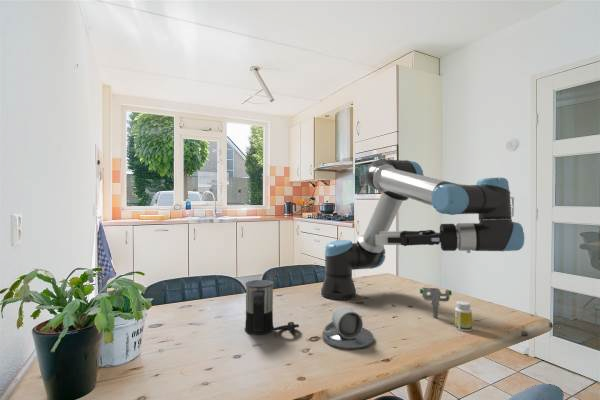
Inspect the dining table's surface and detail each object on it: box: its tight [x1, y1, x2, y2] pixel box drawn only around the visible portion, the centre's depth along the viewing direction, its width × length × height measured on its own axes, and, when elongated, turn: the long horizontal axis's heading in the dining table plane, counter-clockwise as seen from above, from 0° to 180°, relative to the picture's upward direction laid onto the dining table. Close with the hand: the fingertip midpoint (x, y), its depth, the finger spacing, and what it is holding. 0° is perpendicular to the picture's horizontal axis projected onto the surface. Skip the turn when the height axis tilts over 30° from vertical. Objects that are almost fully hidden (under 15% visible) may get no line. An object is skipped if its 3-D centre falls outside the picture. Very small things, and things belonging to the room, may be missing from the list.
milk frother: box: [244, 279, 300, 335], centre depth 101 cm, size 14×16×15 cm
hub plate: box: [321, 327, 374, 351], centre depth 95 cm, size 15×15×1 cm
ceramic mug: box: [323, 306, 364, 339], centre depth 95 cm, size 11×8×8 cm
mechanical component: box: [419, 287, 453, 319], centre depth 113 cm, size 3×10×10 cm, turn 78°
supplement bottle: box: [454, 300, 473, 332], centre depth 103 cm, size 5×5×8 cm
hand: (377, 237), depth 95 cm, fingers open, 13 cm apart
